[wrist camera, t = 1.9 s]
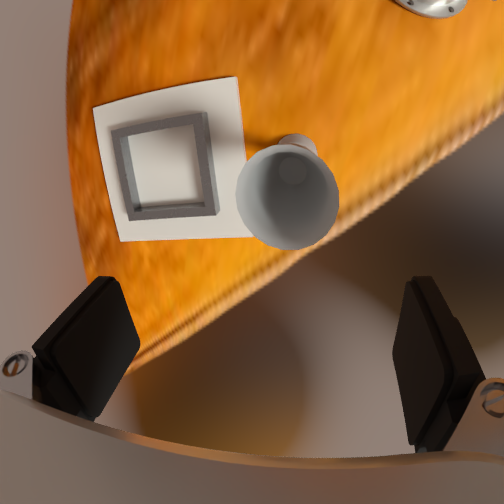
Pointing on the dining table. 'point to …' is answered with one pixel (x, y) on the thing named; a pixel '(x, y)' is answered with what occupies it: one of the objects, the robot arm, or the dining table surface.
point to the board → (176, 159)
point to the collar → (205, 165)
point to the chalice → (287, 194)
